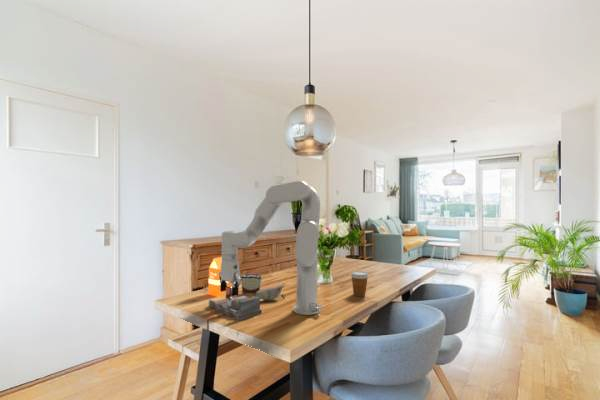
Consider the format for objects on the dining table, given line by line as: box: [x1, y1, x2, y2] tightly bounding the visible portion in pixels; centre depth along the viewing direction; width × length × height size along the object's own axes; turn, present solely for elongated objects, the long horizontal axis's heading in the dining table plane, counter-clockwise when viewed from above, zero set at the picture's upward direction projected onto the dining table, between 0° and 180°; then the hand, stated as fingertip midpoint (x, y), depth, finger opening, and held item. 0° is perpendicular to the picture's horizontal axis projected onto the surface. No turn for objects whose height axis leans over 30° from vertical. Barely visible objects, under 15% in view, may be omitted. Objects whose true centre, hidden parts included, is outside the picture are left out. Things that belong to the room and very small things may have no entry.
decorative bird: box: [254, 284, 286, 301], centre depth 156 cm, size 5×16×8 cm, turn 112°
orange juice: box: [208, 256, 231, 298], centre depth 167 cm, size 8×9×20 cm
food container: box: [240, 273, 263, 295], centre depth 170 cm, size 12×6×10 cm, turn 84°
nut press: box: [208, 296, 263, 321], centre depth 142 cm, size 25×12×8 cm, turn 47°
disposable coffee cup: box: [350, 270, 369, 297], centre depth 167 cm, size 10×10×12 cm
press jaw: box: [225, 285, 249, 310], centre depth 142 cm, size 10×9×8 cm
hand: (229, 293), depth 145 cm, fingers open, 9 cm apart
